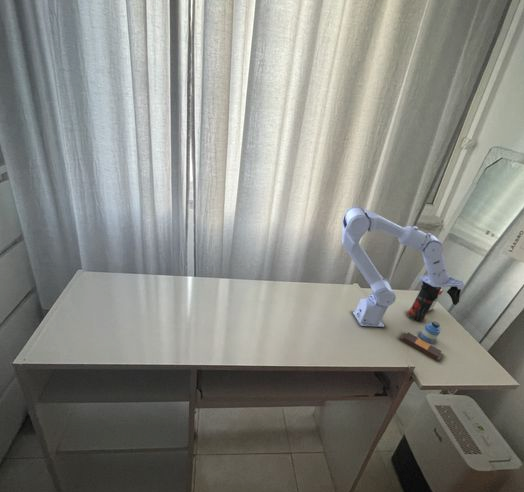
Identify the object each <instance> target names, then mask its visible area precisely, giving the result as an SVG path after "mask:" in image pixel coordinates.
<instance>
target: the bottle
mask: <svg viewBox="0 0 524 492" xmlns="http://www.w3.org/2000/svg"><path fill="white" fill-rule="evenodd" d="M440 326H441V324H440V323H439V322H438V321H432V322H429V323H426V324H425V326H424V328H423V329H422V331H421V333H420V334H419V337H420V339H421V340H423V341H425V342H427V343H428V344H433V343H434V342H435V341H436V340H437V338H438V336H439V335H440V333H441V332H442V329H441V328H440Z"/></svg>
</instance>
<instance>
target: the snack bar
mask: <svg viewBox="0 0 524 492" xmlns="http://www.w3.org/2000/svg"><path fill="white" fill-rule="evenodd" d="M399 340H400V341H402V342H403V343H405V344H407V345H409V346H411V347H412V348H414V349H416V350H417V351H419V352H421V353H422V354H424V355H426V356H428V357H429V358H431V359H433V360H435V361H437V362H440V360H441V358H442V356H443V355H444V353H442V350H441V349H439V348H437V347H435V346H433V345H432V344H431V343H429V342H426V341H424V340H423V339H422V338H419V337H417V336H415V335H414V334H412V333H411V332H407V333H406V332H404V333H403V334H402V336H400V339H399Z"/></svg>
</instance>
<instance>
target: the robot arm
mask: <svg viewBox="0 0 524 492" xmlns="http://www.w3.org/2000/svg"><path fill="white" fill-rule="evenodd" d="M376 230H378V231H381V232H384V233H386V234H388V235H390V236H393V237H396V238H397V239H398V242H399V244H402V245H403V246H406V247H408V248H410V249H412V250H415V251H417V252H421V255H422V257H423V263H424V267H425V270H426V272H427V273H426V274H427V275H421V276H420V277H419V278H418V281H419V283H420V284H422V285H421V286H420V289H421V288H422V289H423V290H425V291H426V292H427V293H428V294H429V296H430V297H431V298H432V300H434V301H435V300H436V299H437V298H438V294H437V290H436V287H441V288H449V289H447V291H446V294H448V295H449V297H450V299H451V302H452V304H453V306H457V305H458V303H460V295H461V292H462V289H463V288H464V287H465V283H464V281H462V280H459V279H457V278H454V277H452V276H450V273H449V272H448V268H447V264H446V261H445V257H444V255H443V251H444V249H445V247H444V245H443V244H442V242H441V241H440V240H439V239H438V238H437V237H436V236H435V235H433V234H432V233H430V232H427V233H426V232H424V231H422V230H420V229H419V227H418V226H416V225H413V226H411V225H408V226H407V225H406V226H401V225H398V224H397V223H395V222H393V221H391V220H389V219H387V218H386V217H384V216H381V215H379V214H378V213H376V212H374V211H372V210H369V209H367V208H364V209H363V208H362V207H360V206H358V205H355V206H351V207H349V208H348V209H347V210H346V211H345V213H344V216H343V218H342V232H341V233H342V234H341V243H342V246H343V248H344V250H345V251H346V253H347V254H348V256H349V257H350V258H351V260H352V262H353V263H354V265H355V266H356V267H357V269H358V270H359V272H360V273H361V275H362V276H363V278H364V279H365V281H366V282H367V284H368V285H369V287H370V288H371V293H370V294H369V296H368V297H365V298H361V299H359V302H358V303H357V306H356V308H355V309H354V311H353V312H352V314H353V316H354V317H355V319H356V321H357V322H358V323H359V325H360V327H373V328H377V327H378V328H384V327H385V324H384V323H383V321H382V320H383V318H384V316H385V314H386V312H387V310H388V308H389V307H390V306H391V305H393V304H394V303H395V301H396V299H397V297H396V294H395V292H394V291H393V288H392V286H391V283H390V281H389V280H388V279H386V278H385V277H383V276H382V275H381V274H380V272H379V271H378V269H377V268H376V266H375V265H374V264H373V262H372V260H371V259H370V257H369V255H368V254H367V252H366V251H365V249H364V248H363V246H362V245H361V244H360V242H361V239H362V238H363V236H364V235H365V234H366V233H367V231H368V233H372V232H374V231H376Z"/></svg>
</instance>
